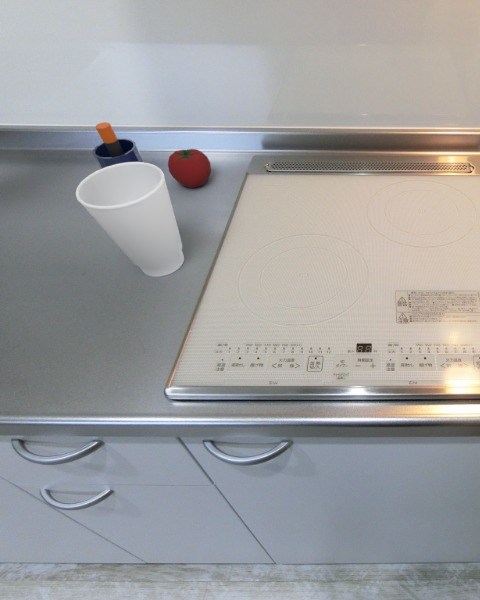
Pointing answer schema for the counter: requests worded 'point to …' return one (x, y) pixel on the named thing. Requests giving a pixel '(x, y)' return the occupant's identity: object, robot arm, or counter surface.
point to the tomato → (189, 167)
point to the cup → (135, 214)
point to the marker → (109, 139)
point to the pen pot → (106, 159)
